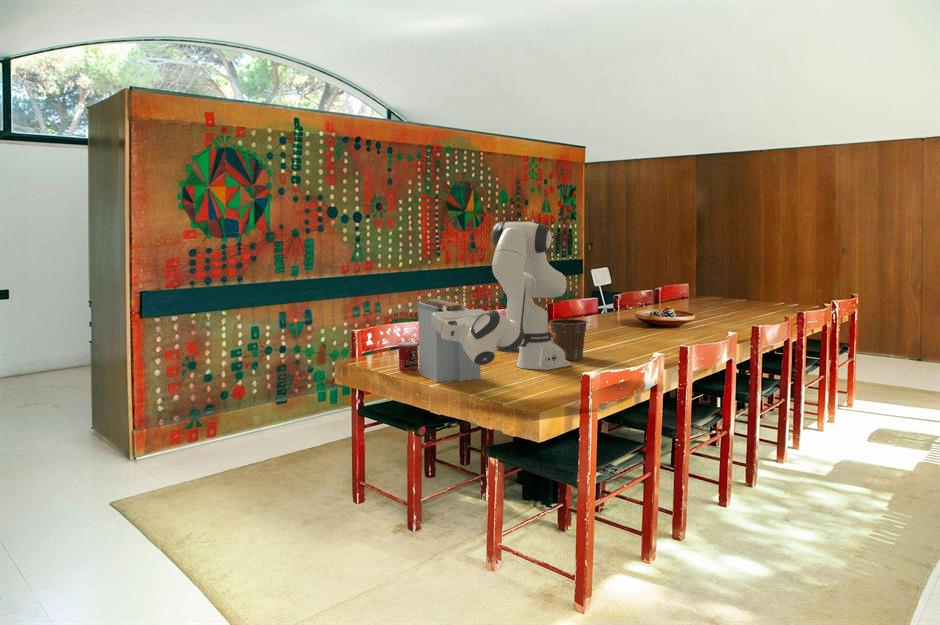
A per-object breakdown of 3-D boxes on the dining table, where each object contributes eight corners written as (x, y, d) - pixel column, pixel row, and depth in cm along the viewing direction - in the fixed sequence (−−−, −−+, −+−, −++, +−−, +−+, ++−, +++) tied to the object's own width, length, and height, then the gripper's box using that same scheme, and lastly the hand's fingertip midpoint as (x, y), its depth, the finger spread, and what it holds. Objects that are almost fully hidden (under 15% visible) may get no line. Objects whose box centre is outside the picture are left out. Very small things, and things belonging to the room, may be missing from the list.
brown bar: (437, 305, 274) (437, 299, 273) (462, 311, 254) (462, 304, 254) (426, 306, 272) (426, 299, 272) (450, 312, 252) (450, 305, 252)
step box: (459, 369, 285) (458, 300, 281) (480, 378, 268) (480, 305, 264) (419, 373, 277) (418, 303, 274) (439, 383, 260) (437, 308, 257)
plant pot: (541, 357, 309) (541, 320, 307) (568, 353, 319) (568, 317, 317) (567, 363, 296) (568, 324, 294) (594, 358, 306) (595, 321, 304)
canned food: (405, 372, 280) (405, 345, 278) (395, 369, 286) (394, 342, 285) (422, 370, 284) (421, 343, 283) (411, 367, 290) (411, 340, 289)
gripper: (495, 320, 249) (479, 297, 259) (441, 324, 240) (427, 301, 250) (491, 334, 253) (475, 311, 263) (438, 339, 244) (424, 315, 254)
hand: (451, 306), depth 256 cm, fingers closed on brown bar, 4 cm apart
